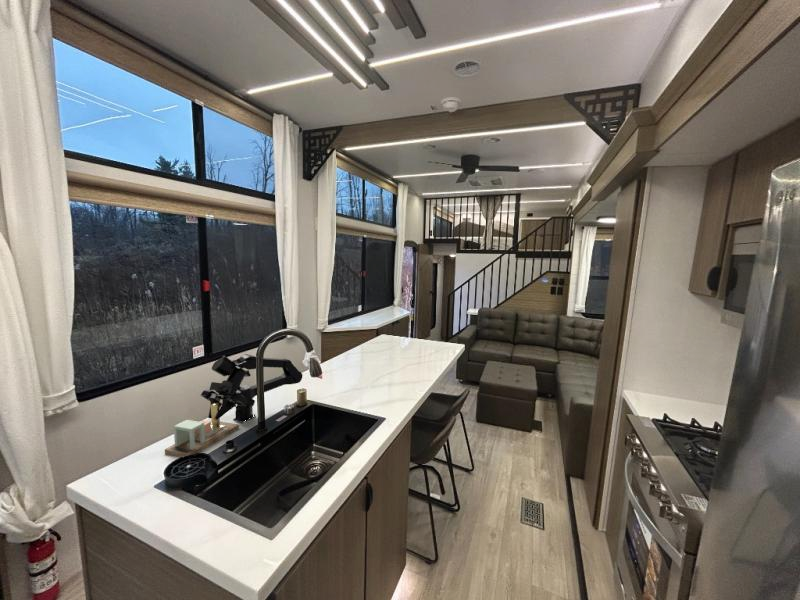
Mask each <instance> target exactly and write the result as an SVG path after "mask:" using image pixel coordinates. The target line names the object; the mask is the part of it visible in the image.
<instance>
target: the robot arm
mask: <svg viewBox="0 0 800 600" xmlns="http://www.w3.org/2000/svg"><path fill="white" fill-rule="evenodd" d="M256 357H257V356H256V355H251V354H248V353H245V354H244V353H243V354H242V355H241V356H239V357H238V358H235V359H233V360H231V359H229V357H227V356H225V355H223V356H222V357H220V358H217V360H216V361H214V363H213V365H211V371H213V372H215V373H217V374H219V375H221V376H222V377H227V376H228V377H227V378H226V379H225V380H222V382H217V381H216V382H213V381H211V383H210V385H209V389H205V390H203V391H202V393H201V394H200V397H203V398H204V399H205V400H207V401H209V402H210V407H209V412H208V416H207V417H208V419H211V404H213V403H219V412H218V414H217V416H216V418H215V419H216V420H218V419H219V418H222V417H223V416H224V415H225V414H226V413H228V412H229V411H231V410H232V409H234V408H235V412H234V413H235V418H232V421H234V420H237V421H236V422H240V421H245V420H246V421H247V420H248V419H249V418H251V419H253V418H254V417H253V414H254V413H253V412H254V411H253V406H254V405H255V403H256V400H255V399H254V398H255V397H256V396H258V395H257V384H254V385H251V386H250V385H249V384H246V383H244V384H241V383H242V382H243V380H244V379H245V377H246V378H249V377H251V373H250V370H257V369H256ZM262 358H263V367H262V368H277V369H278V368H282V371H283V373H281V375H279V376H276V377H274V378H271V379H268V380H266V381H263V382H264V393H267V392H269V391H271V390H274V389H278V388H279V387H282V386H285V385H296V384H299V383H301V381H302V379H303V373H302V372H301V371H299V369H298V368H297V367H296V366H295V365H294V364H293V363H292V361H291V360H290V359H287V358H271V357H269V358H268V357H262ZM245 369H246V370H245ZM221 400H222V402H221ZM255 415H256V414H254V416H255ZM252 417H253V418H252ZM255 417H256V416H255ZM248 421H249V420H248ZM248 421H247V422H248Z"/></svg>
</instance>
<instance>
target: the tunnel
mask: <svg viewBox="0 0 800 600" xmlns="http://www.w3.org/2000/svg"><path fill="white" fill-rule="evenodd" d="M198 428H200V443H201V444H203V443H205V432H204V423H203V422H201V421H198V420H197V421H196V420H193V419H192V420H191V419H186V420H183V421H181V422H179V423H177V424H175V425H174V426H173V433H174V434H173V435H174V444H175V446H176V447H177V446H179V445H181V444H183V443H185V442H186V441H188V440H190V449H191V450H193V449H195V437H194V430H196V429H198ZM189 435H190V439H189Z"/></svg>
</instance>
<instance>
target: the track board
mask: <svg viewBox="0 0 800 600" xmlns="http://www.w3.org/2000/svg"><path fill="white" fill-rule="evenodd" d="M211 425H212V423H211ZM220 425H224V426H225V428H223V429H222V430H220V431H218V432H216V433H215V434H213V435H211V436H210V437H208V438H206V439H205V443H203V444H201V443H200V441H199V440H195V449H193V450H191V449H190V440H188V441H186V442H185V443H183V444H181V445H179V446H177V447H176V446H175V443H174V444H172V445H170V446H168V447H167V448H165V449H164V454H166V455H169V456H171V455H172V456H175V457H180V458H184V457H183V456H188V455H191V454H196V453H198V454H199V453H201V452H202V451H204V450H206V449H207V448H209V447H211V446H212V445H214V444H216V443H217V442H219V441H220V440H223V439H224V438H225V437H227V436H229V435H230V434H232V433H234V432H235V431H237V430H238V429H240V424H239V423H238V424H237V423H232V422H225V421H221V420H220ZM237 428H238V429H237ZM236 429H237V430H236ZM234 430H235V431H234ZM231 432H232V433H231ZM228 434H229V435H228ZM196 455H197V454H196Z"/></svg>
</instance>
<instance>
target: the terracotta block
mask: <svg viewBox="0 0 800 600" xmlns="http://www.w3.org/2000/svg"><path fill="white" fill-rule="evenodd" d="M200 422H203V423H204V432H205V433H207V432H208V431H210V430H211V424H212V422H211V421H207V420H201V421H200ZM194 434H198V435H200V428H198V429H196V430H194Z"/></svg>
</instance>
